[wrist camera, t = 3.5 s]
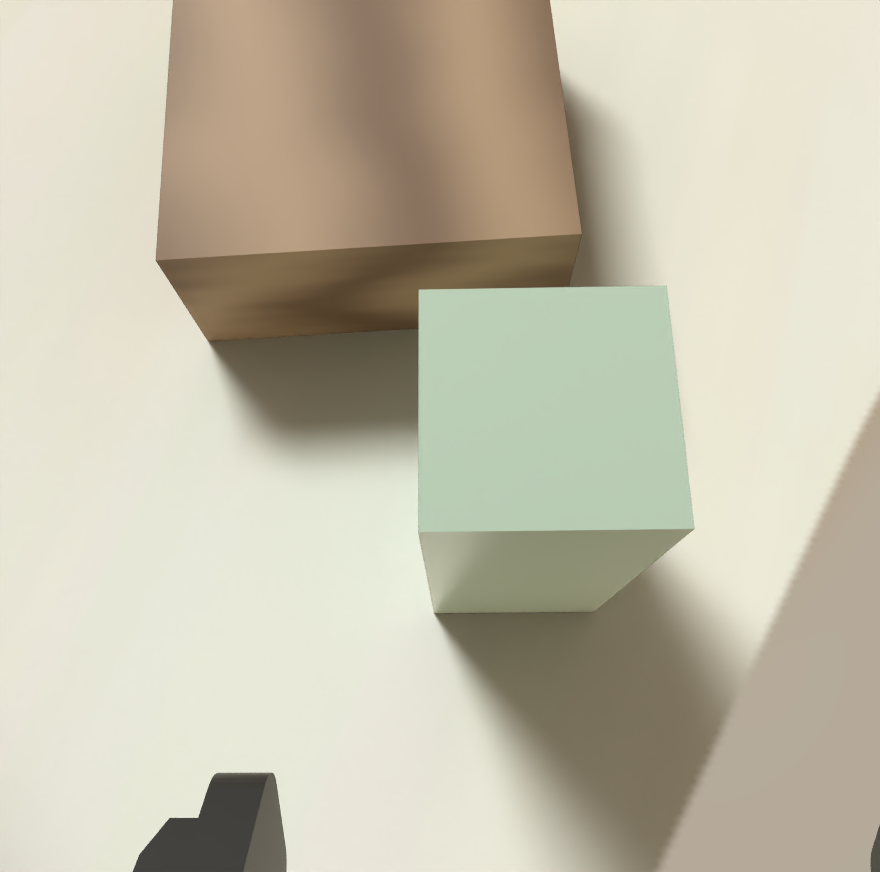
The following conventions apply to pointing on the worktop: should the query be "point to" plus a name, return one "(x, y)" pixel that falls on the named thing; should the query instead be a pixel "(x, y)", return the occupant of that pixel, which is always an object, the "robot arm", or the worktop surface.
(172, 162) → the riser
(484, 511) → the sage green pillar
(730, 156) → the worktop surface
